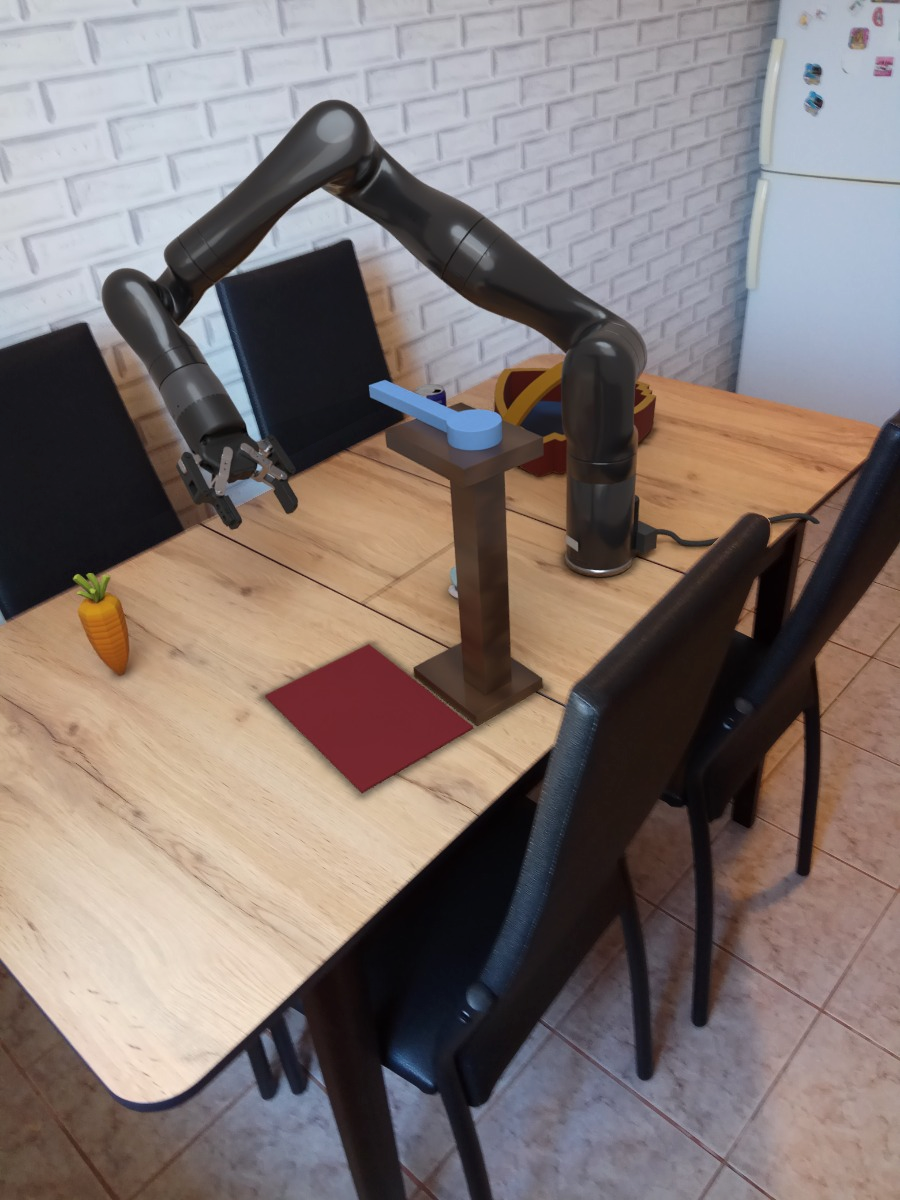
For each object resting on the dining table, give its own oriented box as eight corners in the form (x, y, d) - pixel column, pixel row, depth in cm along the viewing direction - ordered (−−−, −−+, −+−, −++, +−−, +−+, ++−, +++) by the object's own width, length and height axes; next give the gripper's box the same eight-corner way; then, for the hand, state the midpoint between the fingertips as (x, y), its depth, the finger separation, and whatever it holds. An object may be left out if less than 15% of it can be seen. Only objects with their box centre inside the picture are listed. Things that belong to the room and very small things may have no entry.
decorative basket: (556, 504, 151) (568, 422, 141) (437, 432, 167) (440, 354, 157) (682, 440, 169) (700, 363, 159) (564, 381, 185) (574, 308, 175)
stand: (475, 641, 117) (460, 402, 100) (545, 690, 109) (543, 436, 91) (411, 674, 113) (384, 429, 95) (479, 728, 104) (463, 469, 86)
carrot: (149, 665, 118) (118, 564, 109) (126, 689, 114) (92, 587, 105) (117, 659, 119) (84, 559, 111) (92, 682, 115) (56, 581, 107)
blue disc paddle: (397, 387, 104) (396, 370, 103) (513, 438, 91) (513, 419, 90) (357, 401, 102) (355, 383, 101) (471, 455, 88) (469, 436, 87)
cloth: (369, 645, 118) (369, 643, 118) (473, 728, 104) (473, 726, 104) (265, 697, 111) (264, 695, 111) (361, 793, 97) (361, 791, 96)
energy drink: (446, 461, 162) (441, 395, 155) (416, 460, 163) (410, 395, 156) (452, 448, 166) (448, 383, 159) (423, 447, 167) (418, 383, 160)
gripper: (162, 400, 108) (229, 515, 106) (260, 384, 118) (323, 489, 116) (142, 437, 114) (206, 547, 111) (238, 418, 124) (298, 520, 121)
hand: (266, 518), depth 114 cm, fingers open, 8 cm apart
